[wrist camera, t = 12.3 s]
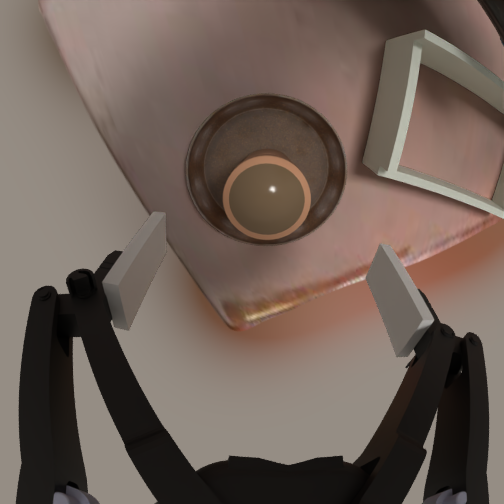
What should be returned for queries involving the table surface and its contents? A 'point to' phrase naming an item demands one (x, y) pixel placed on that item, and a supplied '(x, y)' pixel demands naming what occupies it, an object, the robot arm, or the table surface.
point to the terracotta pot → (266, 195)
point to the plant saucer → (266, 137)
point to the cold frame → (401, 102)
